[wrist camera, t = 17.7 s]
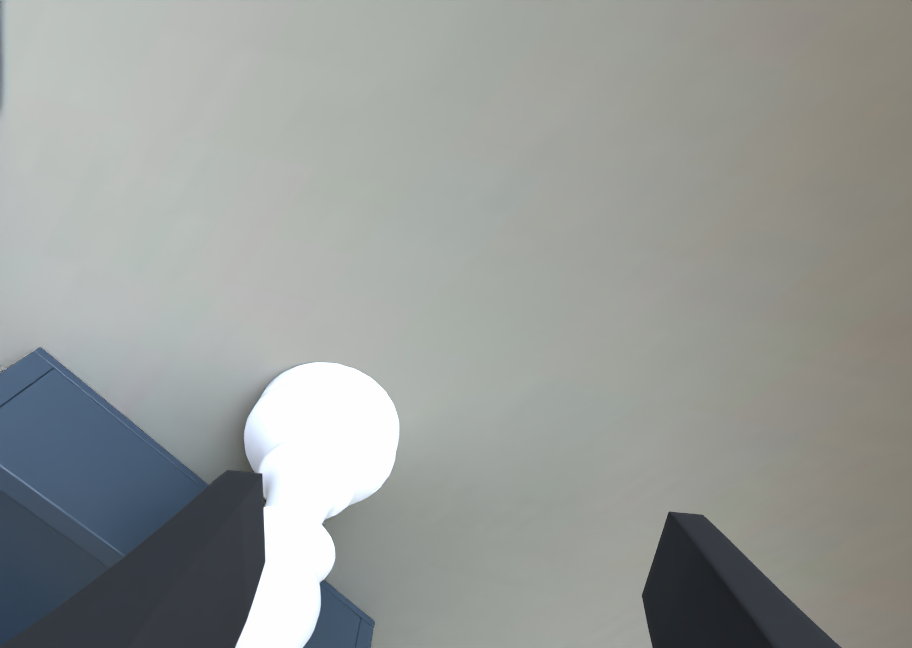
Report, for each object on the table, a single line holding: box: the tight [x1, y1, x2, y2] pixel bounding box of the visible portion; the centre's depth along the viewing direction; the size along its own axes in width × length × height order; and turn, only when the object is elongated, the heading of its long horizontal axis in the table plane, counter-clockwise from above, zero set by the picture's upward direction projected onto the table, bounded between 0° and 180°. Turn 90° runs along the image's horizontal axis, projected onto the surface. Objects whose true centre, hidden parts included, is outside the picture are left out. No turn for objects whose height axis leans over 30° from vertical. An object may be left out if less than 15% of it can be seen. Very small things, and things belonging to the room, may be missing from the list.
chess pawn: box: [235, 362, 399, 648], centre depth 16 cm, size 5×5×9 cm
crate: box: [0, 348, 375, 648], centre depth 22 cm, size 17×15×4 cm
